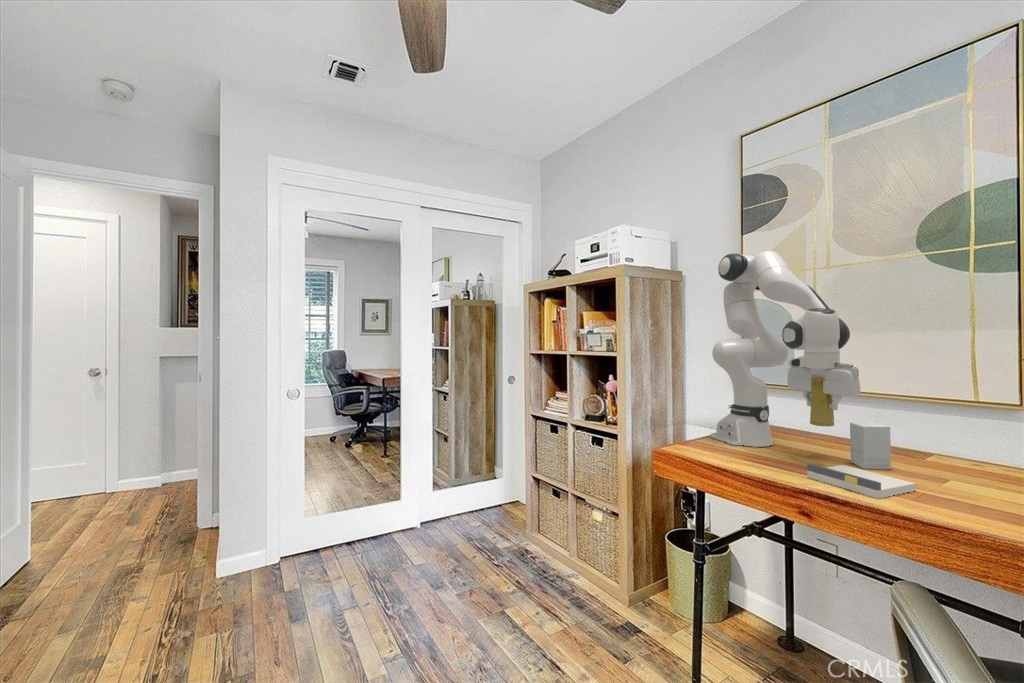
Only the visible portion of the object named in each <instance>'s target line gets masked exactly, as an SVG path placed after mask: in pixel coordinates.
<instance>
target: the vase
mask: <svg viewBox="0 0 1024 683" xmlns="http://www.w3.org/2000/svg"><path fill="white" fill-rule="evenodd" d="M823 380H825V378H813V377H811V394H810V395H811V406H810V417H809V424H810V425H813V426H817V427H834V426H835V418H834V417H835V415H834V412H835V410H830V409H829V404H830V403H832V402H833V400H834V399H833V398H832V395H831V394H825V393H824V392H823Z"/></svg>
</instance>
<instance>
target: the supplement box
mask: <svg viewBox="0 0 1024 683" xmlns="http://www.w3.org/2000/svg"><path fill="white" fill-rule="evenodd" d="M849 438H850V439H849V440H850V442H849V444H850V446H849V447H850V463H851V464H853V463H854V465H856V466H858V467H860V468H861V469H863V470H866V469H867V470H886V469H890V470H892V454H891V426H889V425H888V426H887V425H886V424H885V425H884V424H881V423H878V422H849Z"/></svg>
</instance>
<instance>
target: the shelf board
mask: <svg viewBox="0 0 1024 683" xmlns="http://www.w3.org/2000/svg"><path fill="white" fill-rule="evenodd" d="M806 466H807V467H806V468H807V470H806V471H807V474H806V475H807V478H808V479H811V478H812V479H811V480H814V479H815V480H814V481H817V480H818V482H820V483H824V482H825V483H824V484H827V483H829V484H828V485H831V484H832V485H831V486H834V485H835V486H834V487H837V486H838V488H840V487H842V488H841V489H844V488H846V489H845V490H847V489H849V490H848V491H850V490H852V491H851V492H854V491H855V492H854V493H857V492H859V493H858V494H860V493H861V494H860V495H863V494H864V495H863V496H866V497H870V496H871V498H873V499H877V500H879V498H880V499H884V497H885V498H889V497H888V496H890V497H894V496H893V495H895V496H898V494H900V495H904V494H903V493H905V494H908V493H907V492H910V493H914V492H913V491H915V492H916V491H917V487H916V485H917V484H916V483H915V482H911V481H907V480H902V479H899V478H896V477H891V476H888V475H884V474H881V473H876V472H873V471H868V470H866V469H862V468H857V467H852V466H849V465H845V464H841V465H840V464H839V465H834V466H826V467H825V466H822V465H816V464H813V463H807V465H806Z"/></svg>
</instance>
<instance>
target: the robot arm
mask: <svg viewBox="0 0 1024 683" xmlns="http://www.w3.org/2000/svg"><path fill="white" fill-rule="evenodd" d="M717 268H718V275H719V277H720V278H722V280H725V281H727V282H730V283H728V284H727V285H726V286H725V287H724V289H723V307H724V313H725V319H726V324H727V325H726V326H727V327H728V329H729V330H730V331H731V332H732V333H734V334H737V335H739V336H741V338H738V337H737V338H727V339H721V340H718V341H717V342H716V343H715V344H714V346H713V348H712V359H713V361H714V362H715V363H716V364H717V365H718V366H719V367H721V368H722V369H723V370H724V371H725V372H726V373H727V375H728V376H729V379H730V381H731V384H732V390H733V404H730V405H728V406H727V407H728V409H730V413H728V414H727V415H726V416H725V417H723V418H721V419H720V420H719V421H718V422H717V424H716V429H715V430H716V432H713V433H710V434H709V437H710V438H712V439H715V440H718V441H720V442H723V443H725V442H726V443H725V444H728V445H730V444H731V446H743V445H744V447H745V446H746V447H754V448H755V447H757V448H758V447H759V448H760V447H761V448H762V447H771V446H774V442H773V438H772V435H771V428H770V423H769V416H770V406H769V405H768V385H767V384H766V383H765V381H764V380H762V379H760V378H758V377H756V376H754V375H753V374H752V372H751V368H773V367H778V366H782V365H784V364H785V363H786V362H787V360H788V358H789V349H791V350H797V351H799V350H801V351H802V350H803V352H804V353H803V356H799V357H798V356H797V357H796V358H792V359H789V360H788V366H789V368H788V370H787V386H788V389H790V390H793V391H794V390H795V391H802V395H803V397H804V399H805V400H806V406H807V407H811V377H813V378H825V380H823V392H824V393H825V394H831V395H832V398H833V402H832V403H830V404H829V409H830V410H833V411H838V409H839V405H840V402H841V400H843V397H848V398H853V397H854V398H855V397H858V396H859V395H860V394H861V382H860V378H859V374H860V373H859V368H858V367H856V366H855V365H854V364H852V363H841V351H840V349H843V348H844V347H845V346H846V344H847V343H848V342H849V340H850V337H851V332H850V328H849V326H848V325H847V324H846V323H845V322H844V320H842V319H841V318H840V317H839V316H838V313H837V311H836V310H834V309H831V308H830V307H829V306H828V305H827V304H826V303H825V301H824V300H823V299H822V298H821V297H820V295H819V294H818V292H817V291H815V290H814V288H812V287H811V286H810V285H809V284H806V283H805V282H804V281H802V280H801V279H799V278H798V277H797V276H796V275H795V274H794V272H793V271H792V270H791V269H790V267H789V265H788V264H787V262H786V261H785V260H784V258H783V257H782V256H781V255H780V254H779V253H777V252H776V251H774V250H764V251H761V252H760V253H757V255H753V254H751V255H750V254H741V253H728V254H726V255H724V256H723V257H722V258H721V260H720V261H719V264H718V267H717ZM755 290H756V291H760V292H761V293H762V295H763V296H764V297H765V298H767V299H769V300H771V301H773V302H774V301H775V302H778V303H779V302H780V303H785V304H789V305H794V306H797V307H798V308H801V309H803V310H804V311H805V312H804V314H803V315H802V316H800V317H799V318H796V319H794V320H790V321H788V322H787V323H785V325H784V327H783V329H782V334H781V336H782V337H781V338H782V339H780V338H778V337H776V336H774V335H773V334H772V333H771V332H770V331H769V330H768V329H767V328H766V327H765V326H764V324H763V322H762V321H761V318H760V315H759V312H758V308H757V304H756V300H755V296H754V294H755ZM770 445H771V446H770Z"/></svg>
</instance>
